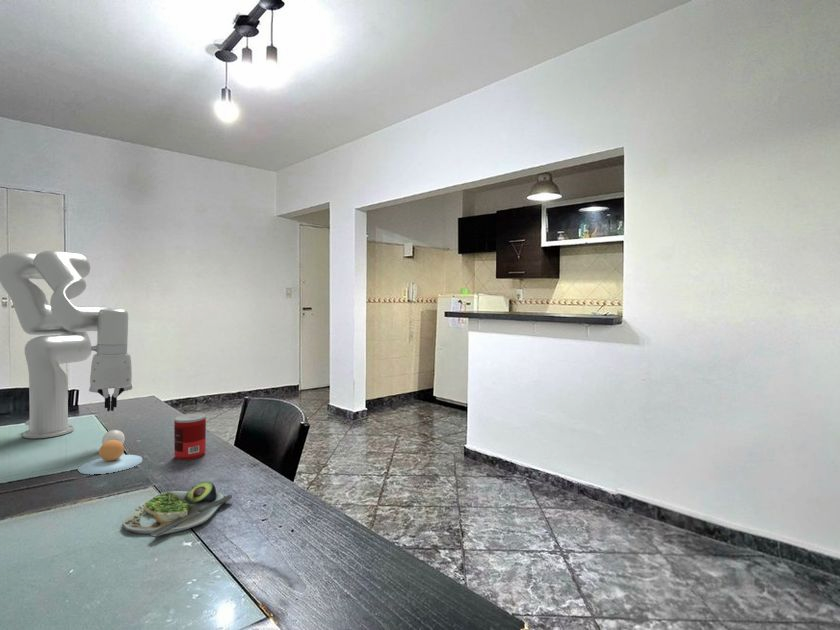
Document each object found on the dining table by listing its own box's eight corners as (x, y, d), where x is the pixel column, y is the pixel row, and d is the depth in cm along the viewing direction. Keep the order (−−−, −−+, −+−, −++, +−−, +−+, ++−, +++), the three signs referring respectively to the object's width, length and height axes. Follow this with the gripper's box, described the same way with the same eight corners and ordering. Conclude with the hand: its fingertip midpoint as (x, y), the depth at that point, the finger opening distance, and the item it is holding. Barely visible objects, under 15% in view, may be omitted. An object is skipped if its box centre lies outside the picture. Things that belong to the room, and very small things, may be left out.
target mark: (64, 470, 112) (64, 470, 112) (115, 453, 126) (115, 452, 126) (106, 477, 109) (106, 477, 109) (154, 458, 122) (154, 458, 122)
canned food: (211, 451, 129) (211, 413, 128) (194, 461, 121) (194, 421, 120) (186, 450, 129) (186, 412, 129) (168, 459, 122) (168, 419, 121)
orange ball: (94, 445, 120) (93, 459, 116) (113, 432, 121) (112, 446, 117) (110, 454, 123) (110, 468, 119) (128, 442, 124) (128, 455, 120)
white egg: (97, 431, 127) (96, 451, 126) (115, 429, 127) (114, 449, 126) (111, 430, 133) (111, 449, 132) (129, 428, 132) (129, 447, 131)
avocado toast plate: (198, 545, 80) (198, 520, 80) (97, 545, 80) (97, 520, 80) (238, 498, 100) (238, 477, 100) (157, 498, 99) (157, 477, 99)
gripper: (80, 352, 126) (78, 415, 127) (142, 351, 134) (140, 410, 135) (82, 348, 132) (80, 409, 133) (141, 347, 140) (139, 405, 141)
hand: (110, 409), depth 134 cm, fingers closed
